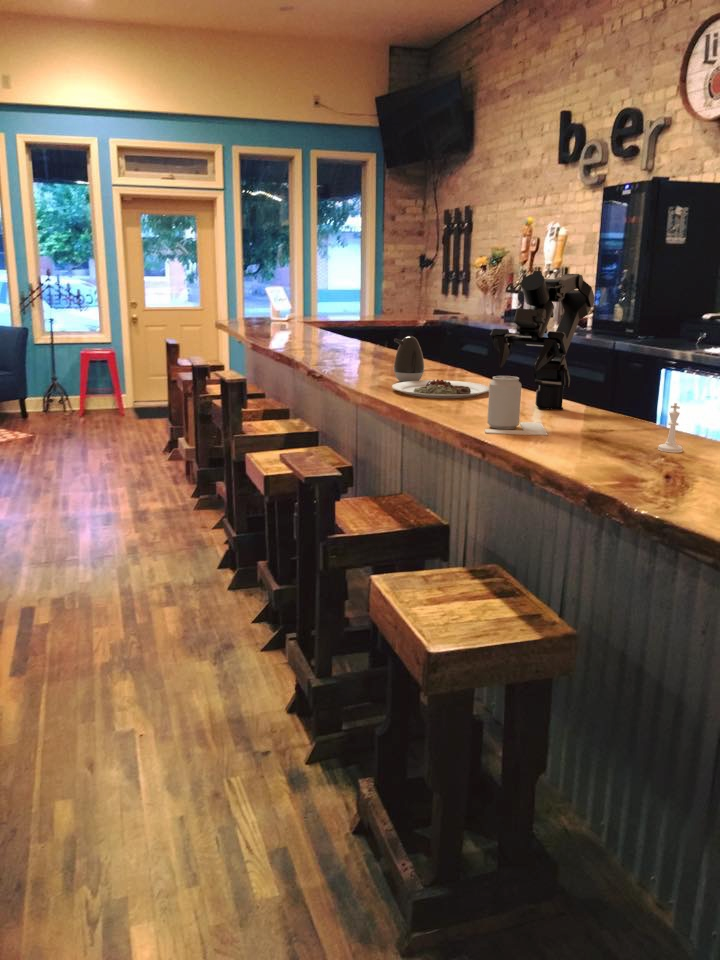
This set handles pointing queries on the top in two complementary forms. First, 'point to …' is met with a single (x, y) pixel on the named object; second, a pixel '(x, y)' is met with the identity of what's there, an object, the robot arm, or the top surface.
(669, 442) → the chess piece
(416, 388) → the plated food
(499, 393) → the can
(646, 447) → the top surface
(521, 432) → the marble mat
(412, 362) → the pump dispenser
